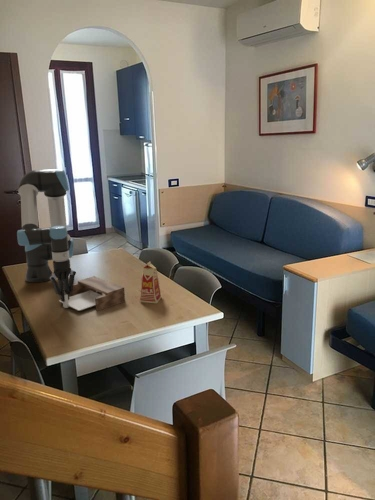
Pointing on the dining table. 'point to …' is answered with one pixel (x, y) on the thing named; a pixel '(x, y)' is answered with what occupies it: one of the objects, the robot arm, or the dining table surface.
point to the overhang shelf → (100, 291)
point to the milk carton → (150, 285)
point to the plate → (83, 300)
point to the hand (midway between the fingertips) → (66, 307)
